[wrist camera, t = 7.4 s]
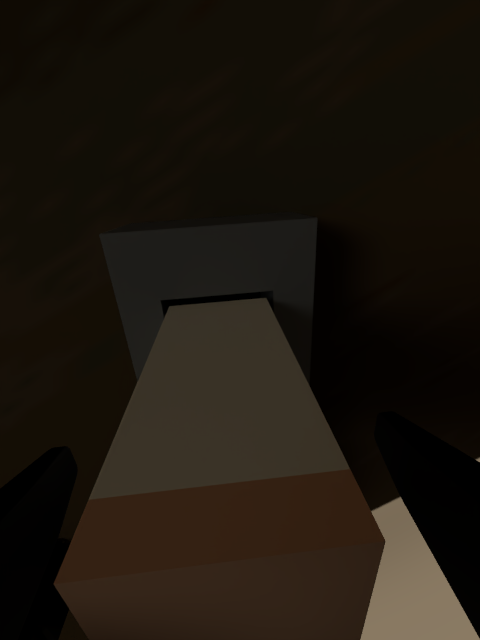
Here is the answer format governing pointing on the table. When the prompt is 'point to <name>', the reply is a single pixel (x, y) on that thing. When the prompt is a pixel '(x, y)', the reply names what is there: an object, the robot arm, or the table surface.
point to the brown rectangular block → (223, 498)
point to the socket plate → (214, 272)
